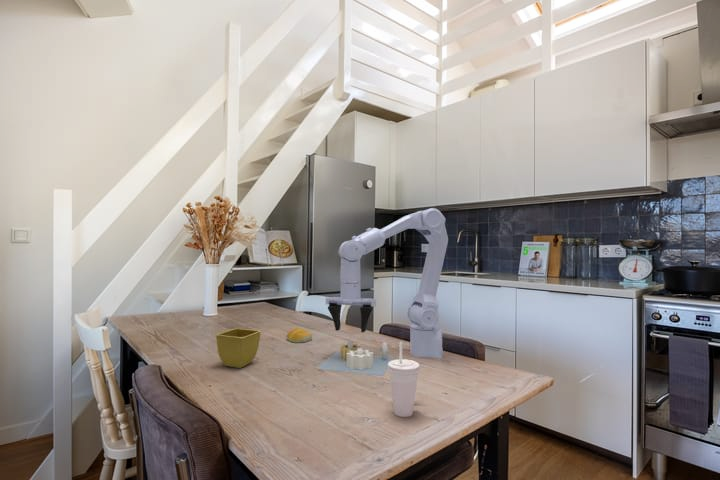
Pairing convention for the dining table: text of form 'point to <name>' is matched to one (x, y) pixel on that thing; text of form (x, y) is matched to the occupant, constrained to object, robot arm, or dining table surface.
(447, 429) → the dining table surface
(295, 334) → the bread roll
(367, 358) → the gear
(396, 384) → the smoothie
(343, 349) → the brass gear
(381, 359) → the gear board
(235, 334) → the flower pot
